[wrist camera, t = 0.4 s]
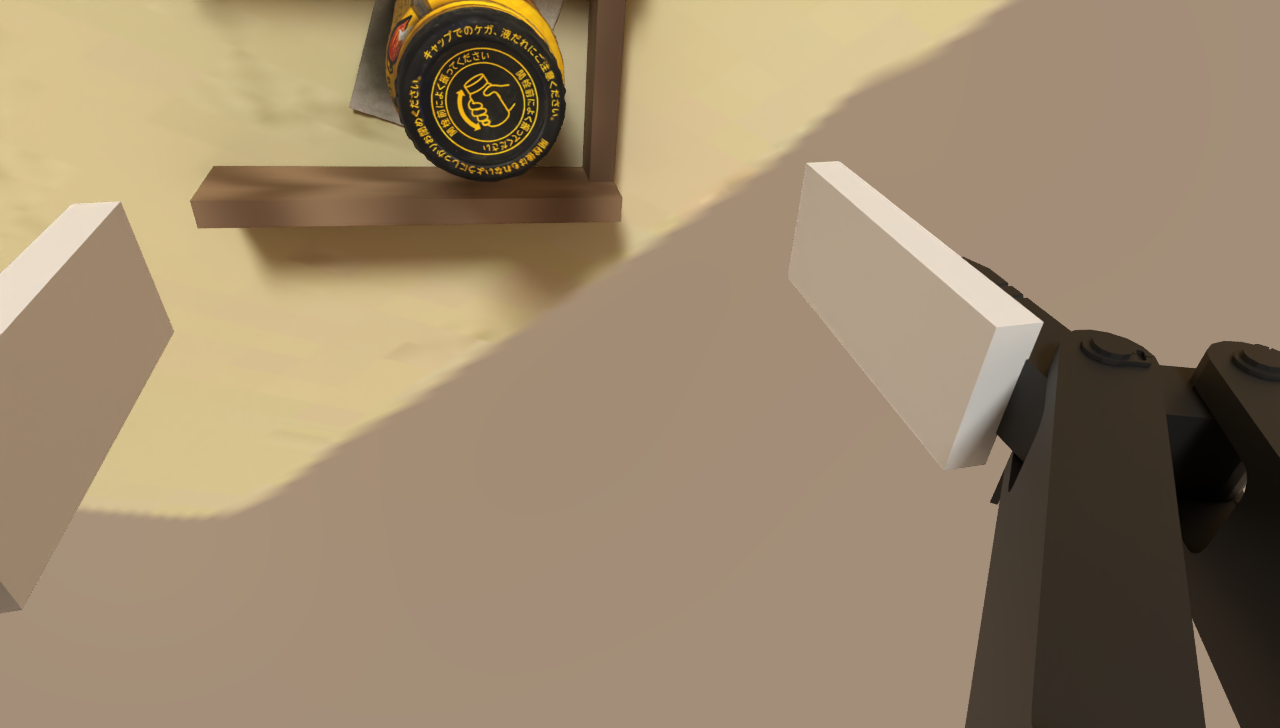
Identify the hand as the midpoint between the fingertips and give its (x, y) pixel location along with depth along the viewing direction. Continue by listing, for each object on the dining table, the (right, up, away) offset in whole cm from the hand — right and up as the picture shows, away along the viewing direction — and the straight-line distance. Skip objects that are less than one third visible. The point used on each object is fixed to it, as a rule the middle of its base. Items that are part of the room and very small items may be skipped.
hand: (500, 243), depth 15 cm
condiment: (-5, +12, +18) cm, 22 cm away
